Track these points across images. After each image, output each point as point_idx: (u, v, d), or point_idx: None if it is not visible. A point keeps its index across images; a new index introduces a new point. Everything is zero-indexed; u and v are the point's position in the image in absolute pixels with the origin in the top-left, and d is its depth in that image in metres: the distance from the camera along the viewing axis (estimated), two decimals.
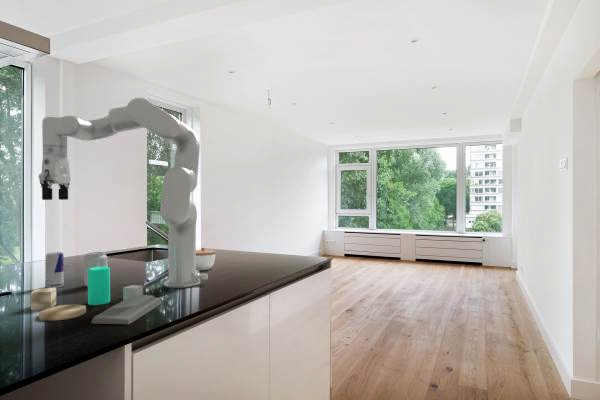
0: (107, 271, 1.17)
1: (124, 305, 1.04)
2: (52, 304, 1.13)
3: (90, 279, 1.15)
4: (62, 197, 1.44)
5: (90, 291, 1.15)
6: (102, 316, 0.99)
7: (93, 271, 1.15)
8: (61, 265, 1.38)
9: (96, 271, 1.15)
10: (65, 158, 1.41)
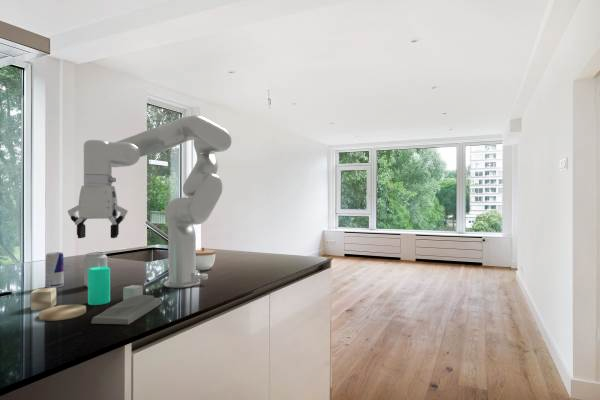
0: (107, 271, 1.17)
1: (124, 305, 1.04)
2: (52, 304, 1.13)
3: (90, 279, 1.15)
4: (82, 235, 1.17)
5: (90, 291, 1.15)
6: (102, 316, 0.99)
7: (93, 271, 1.15)
8: (61, 265, 1.38)
9: (96, 271, 1.15)
10: None
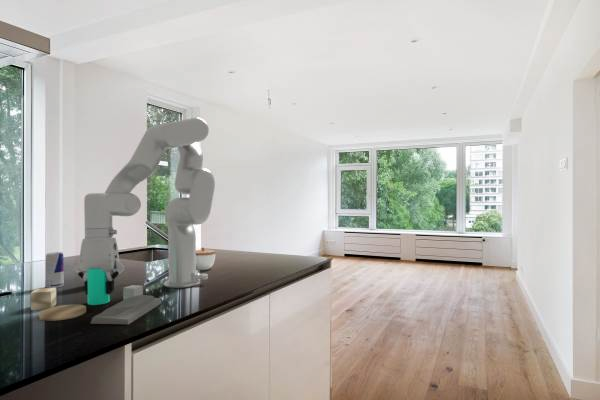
0: None
1: (123, 305, 1.04)
2: (52, 304, 1.13)
3: (89, 279, 1.15)
4: None
5: (89, 291, 1.15)
6: (101, 316, 0.99)
7: (92, 271, 1.15)
8: (61, 265, 1.38)
9: (95, 271, 1.15)
10: None
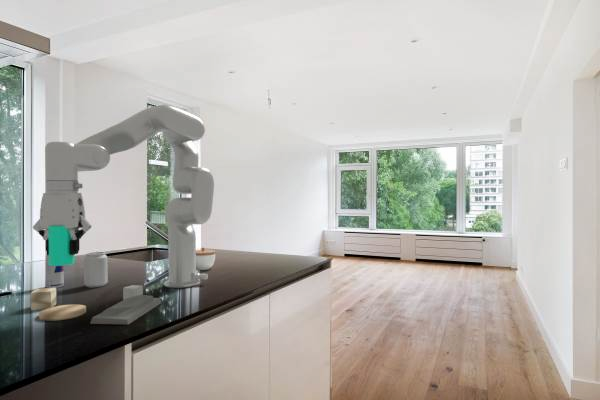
0: None
1: (123, 305, 1.04)
2: (52, 304, 1.13)
3: (50, 237, 1.03)
4: None
5: (50, 250, 1.03)
6: (101, 316, 0.99)
7: (54, 228, 1.02)
8: None
9: (57, 228, 1.03)
10: None
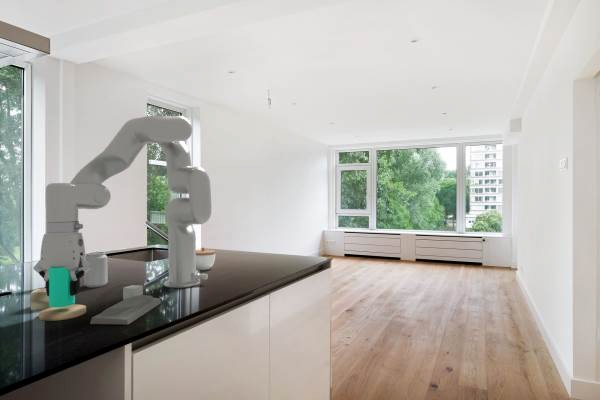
0: None
1: (123, 305, 1.04)
2: None
3: (51, 279, 1.03)
4: None
5: (51, 292, 1.03)
6: (101, 316, 0.98)
7: (54, 270, 1.03)
8: None
9: (58, 270, 1.03)
10: None
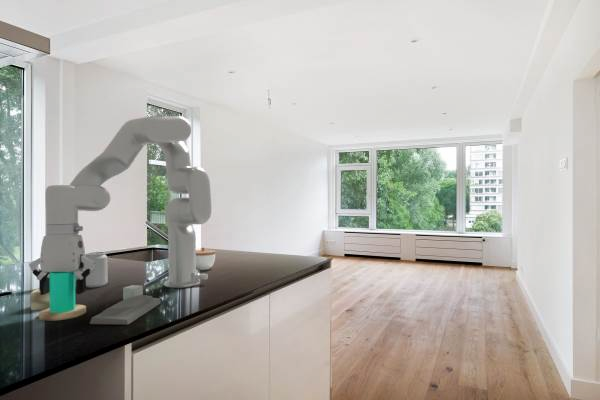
0: (71, 275, 1.05)
1: (122, 305, 1.04)
2: None
3: (52, 284, 1.03)
4: (46, 290, 1.05)
5: (52, 297, 1.03)
6: (101, 316, 0.98)
7: (55, 275, 1.03)
8: None
9: (58, 275, 1.03)
10: None
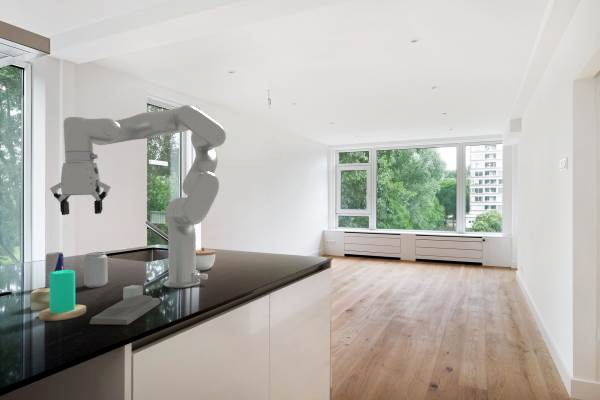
0: (71, 275, 1.05)
1: (122, 305, 1.04)
2: None
3: (52, 284, 1.03)
4: (66, 212, 1.19)
5: (52, 297, 1.03)
6: (100, 316, 0.98)
7: (55, 275, 1.03)
8: (61, 265, 1.38)
9: (58, 275, 1.03)
10: None
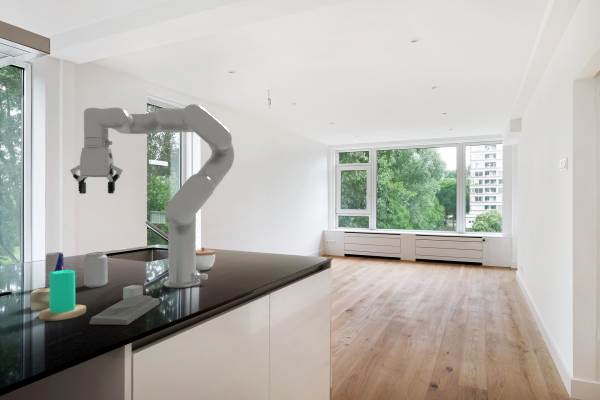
0: (71, 275, 1.05)
1: (122, 305, 1.03)
2: None
3: (52, 284, 1.03)
4: (83, 191, 1.35)
5: (52, 297, 1.03)
6: (100, 316, 0.98)
7: (55, 275, 1.03)
8: (61, 265, 1.38)
9: (58, 275, 1.03)
10: None
